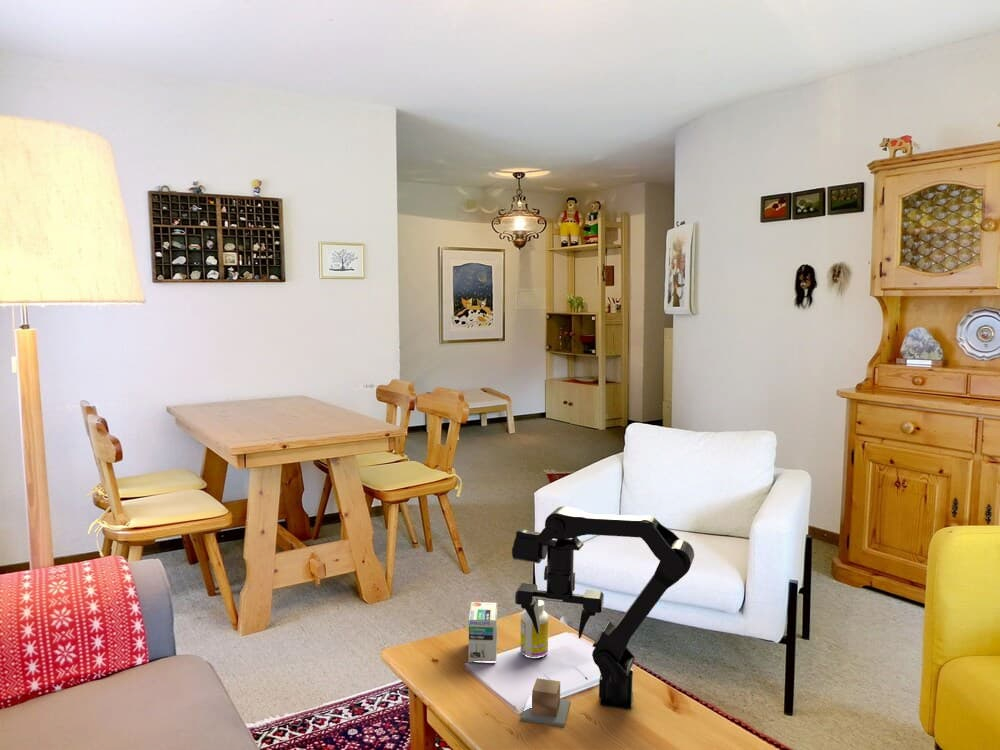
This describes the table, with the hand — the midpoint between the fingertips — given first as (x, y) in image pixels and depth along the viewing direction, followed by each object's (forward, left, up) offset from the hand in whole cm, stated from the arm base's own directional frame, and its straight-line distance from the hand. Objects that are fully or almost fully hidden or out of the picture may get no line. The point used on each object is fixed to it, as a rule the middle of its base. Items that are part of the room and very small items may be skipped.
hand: (558, 635), depth 157 cm
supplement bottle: (+8, -14, -12) cm, 20 cm away
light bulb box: (+20, -11, -12) cm, 26 cm away
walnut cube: (+1, +10, -11) cm, 15 cm away
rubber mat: (+1, +10, -12) cm, 16 cm away
